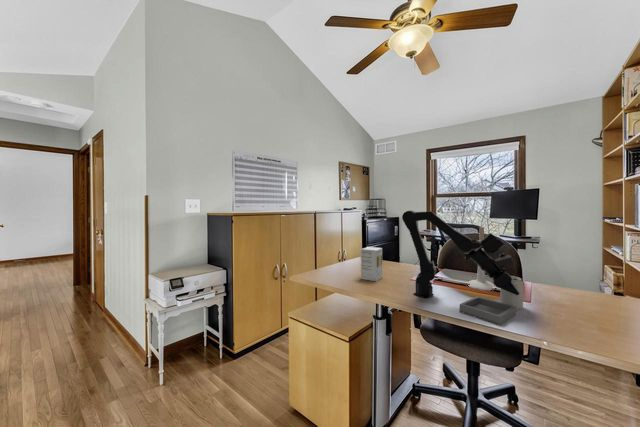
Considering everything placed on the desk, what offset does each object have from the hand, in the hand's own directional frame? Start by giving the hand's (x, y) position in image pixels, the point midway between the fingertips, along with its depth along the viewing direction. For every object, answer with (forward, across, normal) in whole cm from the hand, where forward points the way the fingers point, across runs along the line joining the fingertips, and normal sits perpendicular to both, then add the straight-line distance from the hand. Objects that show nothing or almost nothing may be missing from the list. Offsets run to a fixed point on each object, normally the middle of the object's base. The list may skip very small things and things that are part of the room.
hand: (515, 290), depth 107 cm
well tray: (-3, -11, +12) cm, 17 cm away
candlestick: (-2, +24, +12) cm, 27 cm away
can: (+4, 0, +6) cm, 7 cm away
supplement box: (-40, +17, +49) cm, 65 cm away
